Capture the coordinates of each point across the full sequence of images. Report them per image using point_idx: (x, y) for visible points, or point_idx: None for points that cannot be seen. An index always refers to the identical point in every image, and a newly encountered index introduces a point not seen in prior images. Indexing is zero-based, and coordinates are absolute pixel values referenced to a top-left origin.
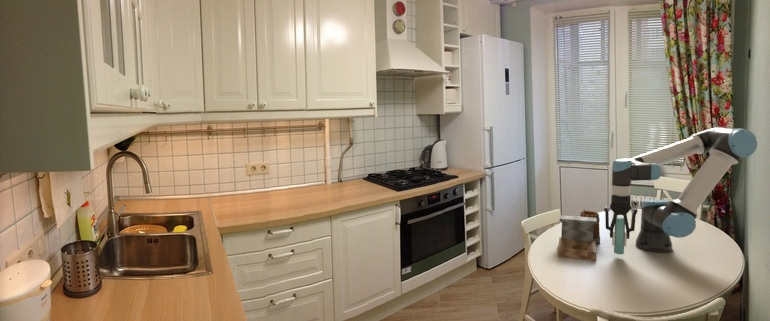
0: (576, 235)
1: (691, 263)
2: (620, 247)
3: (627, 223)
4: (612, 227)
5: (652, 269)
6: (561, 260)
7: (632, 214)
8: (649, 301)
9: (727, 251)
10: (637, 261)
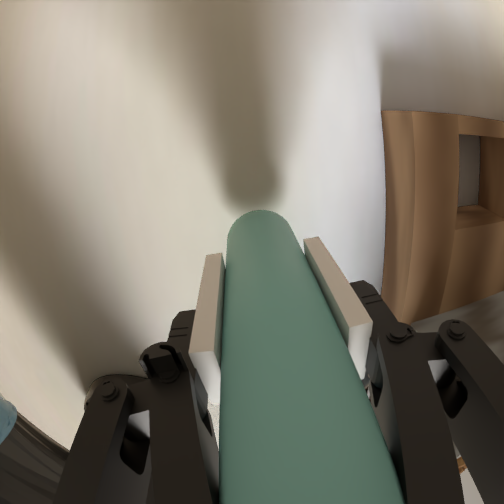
0: (490, 316)
1: (2, 300)
2: (251, 232)
3: (166, 486)
4: (407, 364)
5: (68, 127)
6: (499, 77)
7: None
8: None
9: (18, 406)
10: (149, 218)
